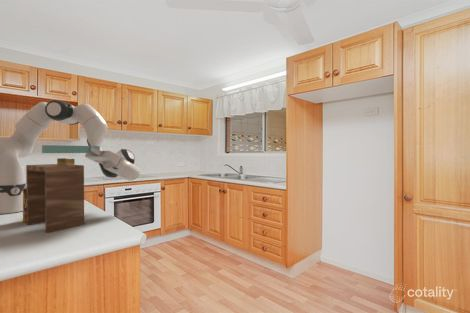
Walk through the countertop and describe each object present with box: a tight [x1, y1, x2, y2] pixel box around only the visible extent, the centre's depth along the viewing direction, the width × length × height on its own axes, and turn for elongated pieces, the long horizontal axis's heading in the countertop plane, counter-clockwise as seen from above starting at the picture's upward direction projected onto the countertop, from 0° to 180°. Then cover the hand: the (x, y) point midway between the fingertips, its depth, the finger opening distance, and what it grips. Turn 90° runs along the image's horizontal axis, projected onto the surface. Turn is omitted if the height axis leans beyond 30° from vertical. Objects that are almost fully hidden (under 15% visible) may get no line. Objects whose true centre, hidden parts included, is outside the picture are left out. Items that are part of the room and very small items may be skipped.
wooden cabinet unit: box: [25, 157, 85, 233], centre depth 109 cm, size 20×14×29 cm
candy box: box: [22, 188, 27, 223], centre depth 115 cm, size 9×4×15 cm, turn 123°
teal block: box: [41, 144, 100, 154], centre depth 110 cm, size 3×22×3 cm, turn 148°
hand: (87, 148), depth 115 cm, fingers closed on teal block, 3 cm apart
